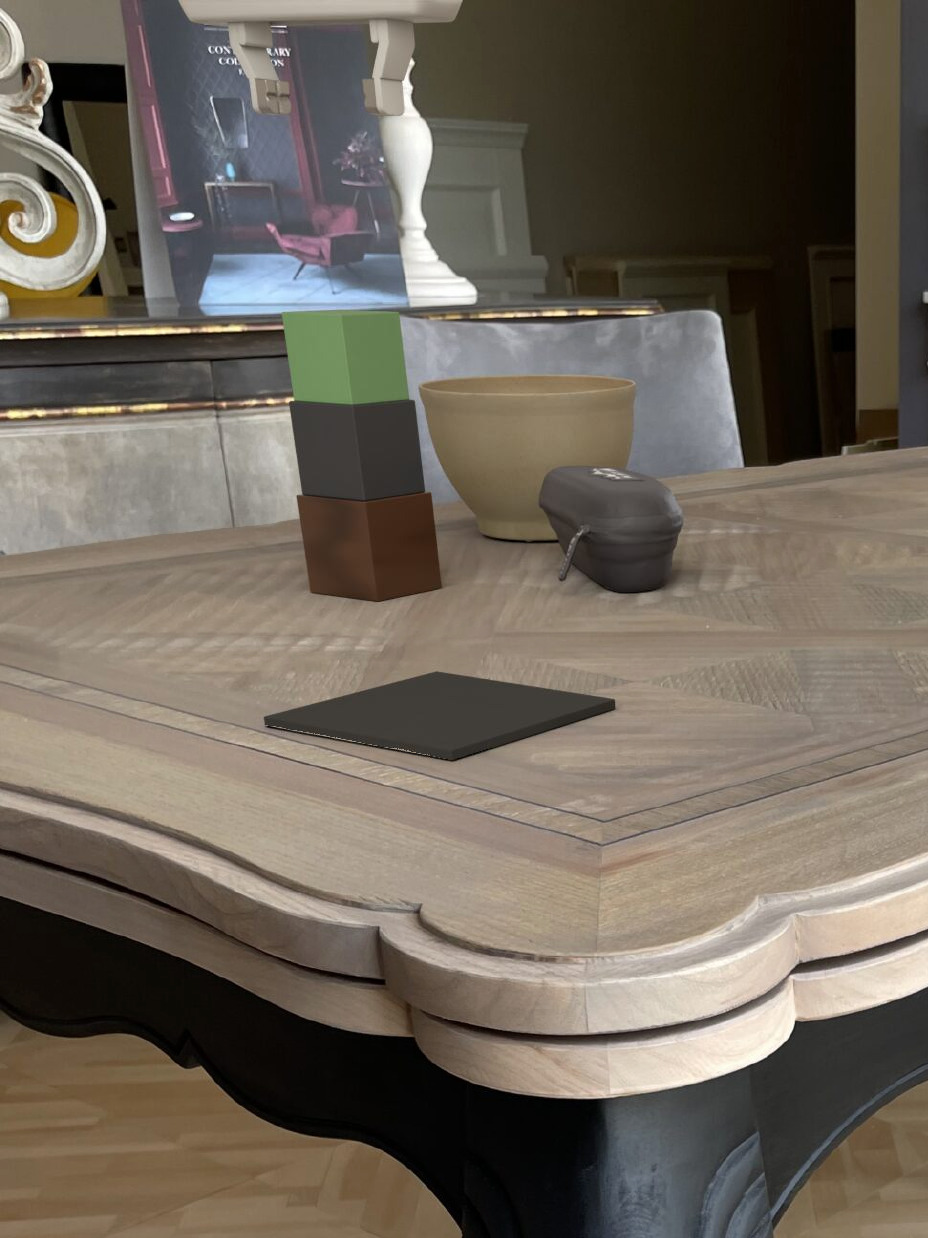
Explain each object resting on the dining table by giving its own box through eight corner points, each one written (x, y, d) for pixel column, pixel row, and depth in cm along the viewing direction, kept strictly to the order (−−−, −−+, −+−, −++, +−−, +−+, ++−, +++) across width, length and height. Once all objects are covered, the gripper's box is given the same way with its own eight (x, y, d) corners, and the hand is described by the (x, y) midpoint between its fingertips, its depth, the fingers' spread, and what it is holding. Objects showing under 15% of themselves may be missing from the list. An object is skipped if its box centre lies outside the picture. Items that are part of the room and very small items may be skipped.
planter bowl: (418, 525, 145) (401, 376, 140) (614, 515, 150) (604, 372, 145) (457, 555, 132) (439, 392, 127) (669, 543, 138) (660, 387, 132)
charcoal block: (301, 494, 115) (288, 401, 113) (364, 485, 120) (352, 395, 117) (364, 501, 113) (352, 405, 110) (426, 492, 117) (415, 399, 114)
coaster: (264, 726, 87) (262, 716, 87) (437, 680, 96) (436, 670, 96) (452, 761, 82) (451, 750, 82) (616, 708, 91) (615, 698, 91)
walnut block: (310, 592, 118) (295, 495, 115) (376, 579, 123) (363, 485, 120) (377, 601, 116) (364, 502, 113) (442, 588, 120) (431, 492, 117)
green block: (293, 401, 113) (280, 311, 110) (352, 395, 117) (341, 309, 114) (352, 405, 111) (340, 314, 108) (409, 399, 114) (399, 312, 112)
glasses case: (733, 575, 120) (688, 460, 115) (593, 644, 118) (542, 530, 114) (655, 534, 134) (612, 429, 129) (529, 595, 132) (481, 491, 128)
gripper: (127, -172, 103) (167, 110, 110) (387, -197, 94) (413, 112, 101) (215, -152, 108) (249, 117, 115) (471, -174, 99) (491, 119, 106)
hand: (328, 115), depth 108 cm, fingers open, 8 cm apart
